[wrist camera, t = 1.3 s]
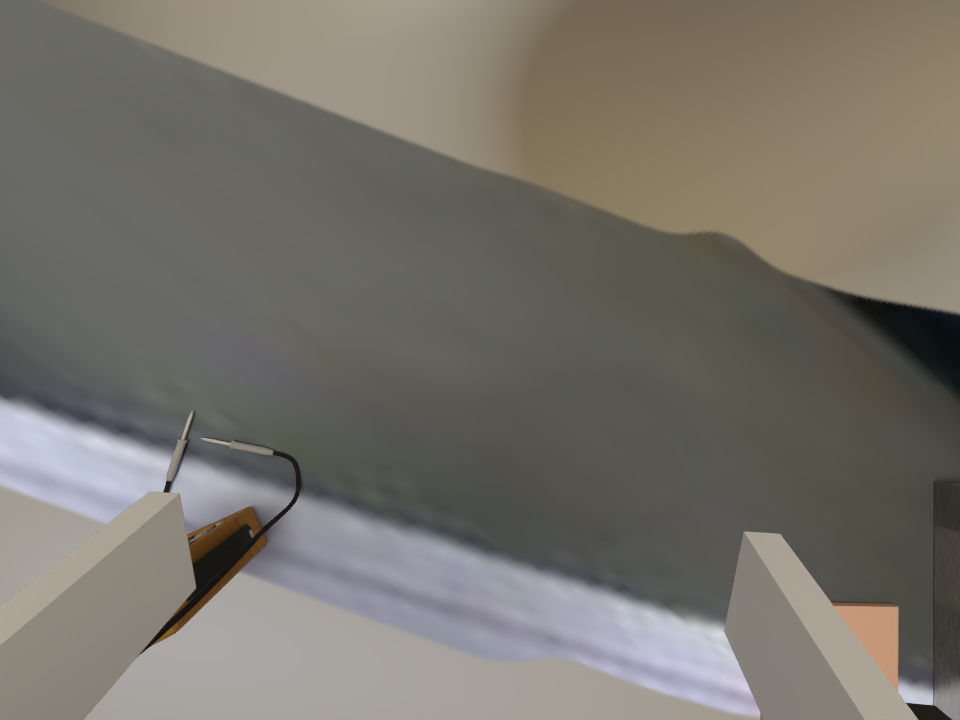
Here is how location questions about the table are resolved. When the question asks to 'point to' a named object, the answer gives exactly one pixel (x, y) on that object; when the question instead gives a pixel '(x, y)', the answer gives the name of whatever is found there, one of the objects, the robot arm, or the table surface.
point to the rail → (947, 598)
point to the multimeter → (219, 543)
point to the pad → (875, 633)
